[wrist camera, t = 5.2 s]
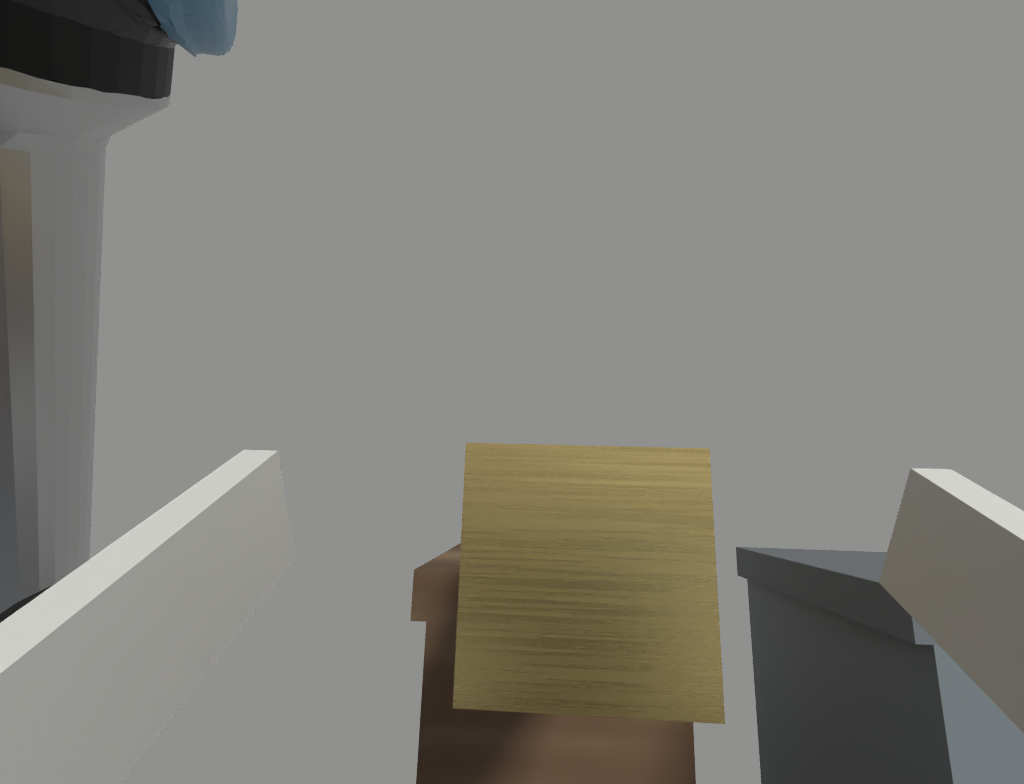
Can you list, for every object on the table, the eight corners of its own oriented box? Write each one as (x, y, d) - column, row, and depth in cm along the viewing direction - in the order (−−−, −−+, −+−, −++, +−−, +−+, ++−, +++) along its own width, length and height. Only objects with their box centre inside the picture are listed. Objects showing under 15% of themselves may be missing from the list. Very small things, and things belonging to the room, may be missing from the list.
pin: (494, 539, 27) (497, 467, 28) (603, 543, 27) (602, 470, 28) (322, 700, 6) (357, 364, 6) (867, 732, 5) (828, 371, 6)
